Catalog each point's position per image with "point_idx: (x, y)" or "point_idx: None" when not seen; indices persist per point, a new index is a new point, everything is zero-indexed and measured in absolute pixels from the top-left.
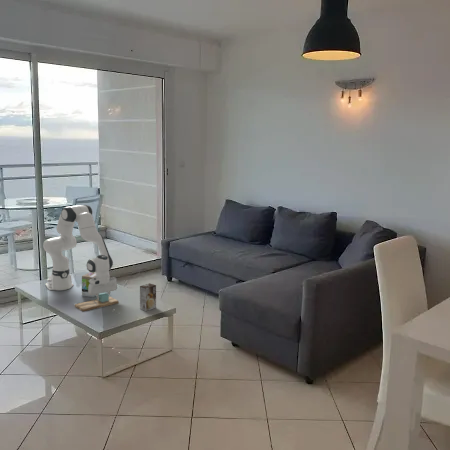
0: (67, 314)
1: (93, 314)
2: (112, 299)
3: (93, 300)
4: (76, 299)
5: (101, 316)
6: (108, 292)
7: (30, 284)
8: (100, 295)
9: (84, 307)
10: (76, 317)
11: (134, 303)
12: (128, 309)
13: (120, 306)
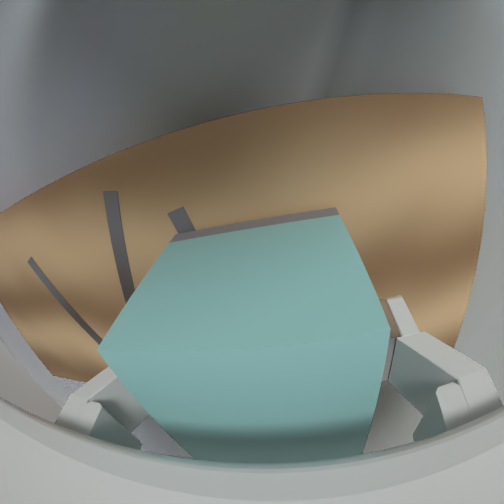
0: (3, 342)
1: (138, 425)
2: (443, 281)
3: (106, 183)
4: (3, 8)
5: (186, 453)
6: (417, 438)
7: None
8: (180, 436)
9: (50, 354)
10: (57, 398)
11: (498, 372)
12: (387, 442)
13: (388, 405)
